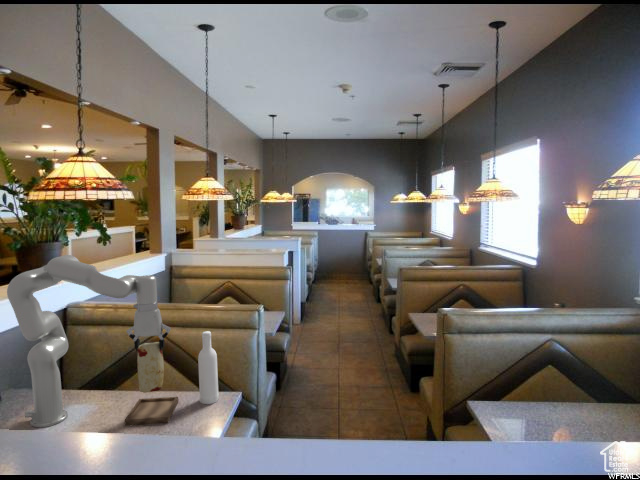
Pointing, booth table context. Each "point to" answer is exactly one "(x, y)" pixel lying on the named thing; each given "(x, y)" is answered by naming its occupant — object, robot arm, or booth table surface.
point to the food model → (150, 367)
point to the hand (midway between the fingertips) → (149, 349)
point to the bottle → (208, 371)
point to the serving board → (152, 411)
